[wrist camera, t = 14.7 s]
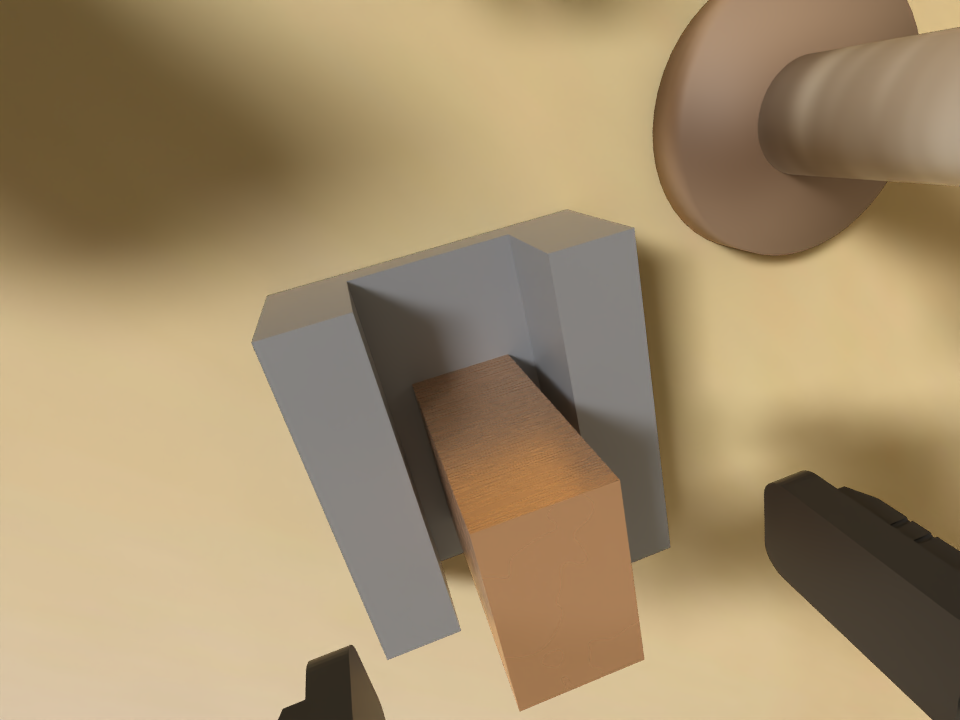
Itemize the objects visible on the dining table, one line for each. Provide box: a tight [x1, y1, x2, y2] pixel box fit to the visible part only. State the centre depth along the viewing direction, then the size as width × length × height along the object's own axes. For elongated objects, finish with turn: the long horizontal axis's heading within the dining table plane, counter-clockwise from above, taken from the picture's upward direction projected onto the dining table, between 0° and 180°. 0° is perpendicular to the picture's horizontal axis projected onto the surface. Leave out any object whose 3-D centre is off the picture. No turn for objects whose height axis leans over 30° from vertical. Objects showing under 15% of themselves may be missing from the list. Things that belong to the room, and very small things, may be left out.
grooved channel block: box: [251, 210, 670, 660], centre depth 16 cm, size 10×9×4 cm
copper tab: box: [412, 354, 644, 711], centre depth 15 cm, size 5×3×7 cm, turn 12°
